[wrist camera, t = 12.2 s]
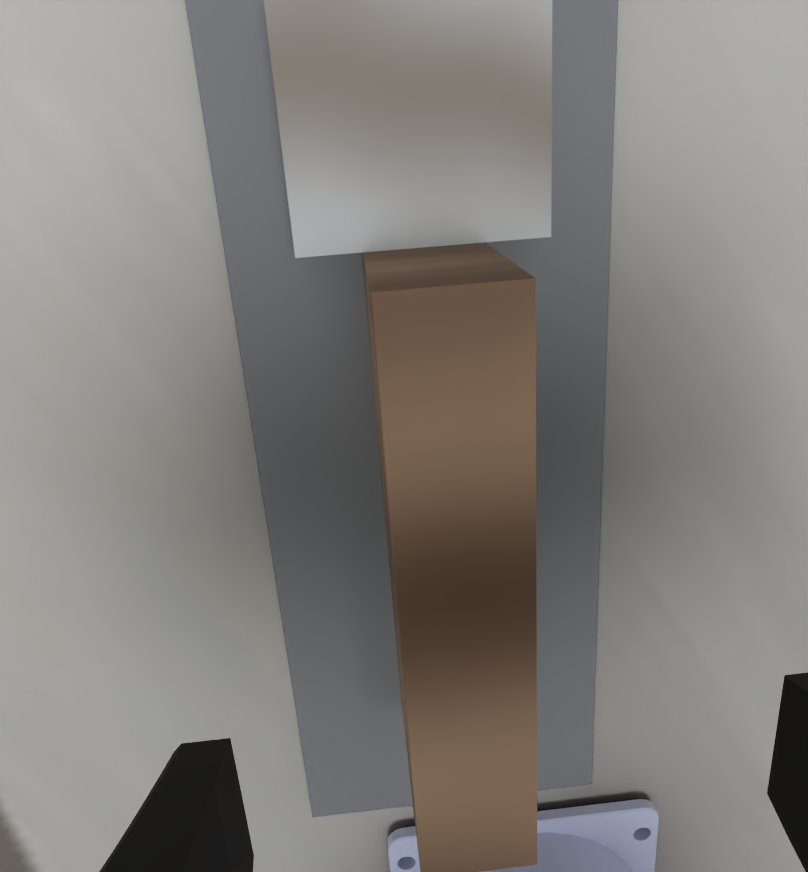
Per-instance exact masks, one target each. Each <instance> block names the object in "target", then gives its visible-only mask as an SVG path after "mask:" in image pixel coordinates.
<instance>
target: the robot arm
mask: <svg viewBox="0 0 808 872" xmlns="http://www.w3.org/2000/svg"><path fill="white" fill-rule="evenodd" d="M767 794H768V796H769V798H770V800H771V802H772V804H773V806H774V808H775V811H776V813H777V815H778V817H779V819H780V821H781V823H782V825H783V827H784V829H785V832H786V834H787V836H788V838H789V840H790V842H791V844H792V846H793V847H794V849H795V851H796V853H797V855H798V857H799V859H800V861H801V863H802V865H803V867H804V869H805V871H806V872H808V673H801V674H792V675H785V677H784V684H783V690H782V697H781V704H780V711H779V717H778V724H777V731H776V738H775V744H774V751H773V758H772V764H771V771H770V778H769V785H768V791H767ZM658 824H659V816H658V812H657V810H656V808H655V806H654V804H653V803H652V802H651V801H648V800H646V799H636V800H627V801H619V802H611V803H603V804H594V805H586V806H578V807H569V808H561V809H553V810H545V811H537V865H530V866H522V867H514V868H506V869H498V870H490V871H482V872H655V862H656V849H657V837H658ZM387 845H388V857H389V866H390V872H420V863H419V854H418V845H417V836H416V827H415V826H412V827H404V828H400V829H397V830H395V831H394V832H392V833H391V834H390V836H389V837H388V841H387ZM405 857H406V858H405ZM253 858H254V855H253V850H252V845H251V840H250V835H249V830H248V825H247V820H246V815H245V810H244V805H243V800H242V795H241V790H240V785H239V780H238V775H237V770H236V765H235V760H234V755H233V750H232V745H231V740H230V738H228V739H219V740H210V741H201V742H192V743H184V744H181V745H180V746H179V747H178V748H177V749H176V750H175V751H174V753H173V755H172V756H171V758H170V760H169V761H168V763H167V765H166V766H165V768H164V770H163V772H162V773H161V775H160V777H159V778H158V780H157V782H156V783H155V785H154V787H153V788H152V790H151V792H150V793H149V795H148V797H147V798H146V800H145V801H144V803H143V805H142V806H141V808H140V810H139V811H138V813H137V814H136V816H135V818H134V819H133V821H132V822H131V824H130V826H129V827H128V829H127V830H126V832H125V833H124V835H123V837H122V838H121V840H120V841H119V843H118V845H117V846H116V848H115V849H114V851H113V852H112V854H111V855H110V857H109V858H108V860H107V861H106V863H105V864H104V866H103V867H102V869H101V870H100V872H253Z"/></svg>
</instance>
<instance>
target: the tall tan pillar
mask: <svg viewBox="0 0 808 872" xmlns="http://www.w3.org/2000/svg"><path fill="white" fill-rule="evenodd" d="M264 7H265V15H266V23H267V31H268V40H269V48H270V56H271V64H272V72H273V81H274V89H275V97H276V105H277V114H278V122H279V130H280V138H281V146H282V155H283V163H284V171H285V179H286V187H287V196H288V204H289V212H290V220H291V228H292V237H293V245H294V253H295V258H302V257H314V256H326V255H338V254H350V253H362V262H363V273H364V284H365V295H366V307H367V318H368V329H369V341H370V352H371V363H372V374H373V386H374V397H375V408H376V419H377V431H378V442H379V453H380V465H381V476H382V487H383V498H384V510H385V521H386V532H387V544H388V555H389V566H390V577H391V589H392V600H393V611H394V623H395V634H396V645H397V656H398V668H399V679H400V690H401V701H402V711H403V720H404V729H405V738H406V747H407V756H408V765H409V774H410V783H411V792H412V801H413V810H414V818H415V827H416V836H417V845H418V854H419V863H420V872H482V871H490V870H498V869H506V868H514V867H522V866H530V865H537V575H536V278H534V277H533V276H532V275H530V274H529V273H527V272H526V271H525V270H523V269H522V268H520V267H519V266H518V265H516V264H515V263H513V262H512V261H511V260H509V259H508V258H507V257H505V256H504V255H502V254H501V253H500V252H498V251H497V250H495V249H494V248H493V247H491V246H490V245H488V244H487V243H486V242H496V241H508V240H520V239H532V238H544V237H551V186H552V0H264Z"/></svg>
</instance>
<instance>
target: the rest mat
mask: <svg viewBox="0 0 808 872" xmlns="http://www.w3.org/2000/svg"><path fill="white" fill-rule="evenodd" d="M185 2H186V9H187V15H188V21H189V28H190V34H191V41H192V47H193V53H194V60H195V66H196V73H197V79H198V85H199V92H200V98H201V105H202V111H203V117H204V124H205V130H206V137H207V143H208V149H209V156H210V162H211V169H212V175H213V181H214V188H215V194H216V201H217V207H218V213H219V220H220V226H221V233H222V239H223V246H224V252H225V258H226V265H227V271H228V278H229V284H230V290H231V297H232V303H233V310H234V316H235V322H236V329H237V335H238V342H239V348H240V354H241V361H242V367H243V374H244V380H245V386H246V393H247V399H248V406H249V412H250V418H251V425H252V431H253V438H254V444H255V450H256V457H257V463H258V470H259V476H260V482H261V489H262V495H263V502H264V508H265V514H266V521H267V527H268V534H269V540H270V547H271V553H272V559H273V566H274V572H275V579H276V585H277V591H278V598H279V604H280V611H281V617H282V623H283V630H284V636H285V643H286V649H287V655H288V662H289V668H290V675H291V681H292V687H293V694H294V700H295V707H296V713H297V719H298V726H299V732H300V739H301V745H302V751H303V758H304V764H305V771H306V777H307V783H308V790H309V796H310V803H311V809H312V816H313V817H319V816H327V815H335V814H344V813H352V812H361V811H369V810H377V809H386V808H394V807H402V806H411V805H413V801H412V792H411V783H410V774H409V765H408V756H407V747H406V738H405V729H404V720H403V711H402V701H401V690H400V679H399V668H398V656H397V645H396V634H395V623H394V611H393V600H392V589H391V577H390V566H389V555H388V544H387V532H386V521H385V510H384V498H383V487H382V476H381V465H380V453H379V442H378V431H377V419H376V408H375V397H374V386H373V374H372V363H371V352H370V341H369V329H368V318H367V307H366V295H365V284H364V273H363V262H362V253H350V254H338V255H326V256H314V257H302V258H295V253H294V245H293V237H292V228H291V220H290V212H289V204H288V196H287V187H286V179H285V171H284V163H283V155H282V146H281V138H280V130H279V122H278V114H277V105H276V97H275V89H274V81H273V72H272V64H271V56H270V48H269V40H268V31H267V23H266V15H265V7H264V0H185ZM617 22H618V0H552V186H551V237H544V238H532V239H520V240H508V241H496V242H486V243H487V244H488V245H490V246H491V247H493V248H494V249H495V250H497V251H498V252H500V253H501V254H502V255H504V256H505V257H507V258H508V259H509V260H511V261H512V262H513V263H515V264H516V265H518V266H519V267H520V268H522V269H523V270H525V271H526V272H527V273H529V274H530V275H532V276H533V277H534V278H536V575H537V790H545V789H553V788H561V787H570V786H578V785H586V784H592V764H593V735H594V705H595V675H596V645H597V616H598V586H599V556H600V527H601V497H602V467H603V438H604V408H605V378H606V349H607V319H608V289H609V260H610V230H611V200H612V171H613V141H614V111H615V81H616V52H617Z"/></svg>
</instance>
